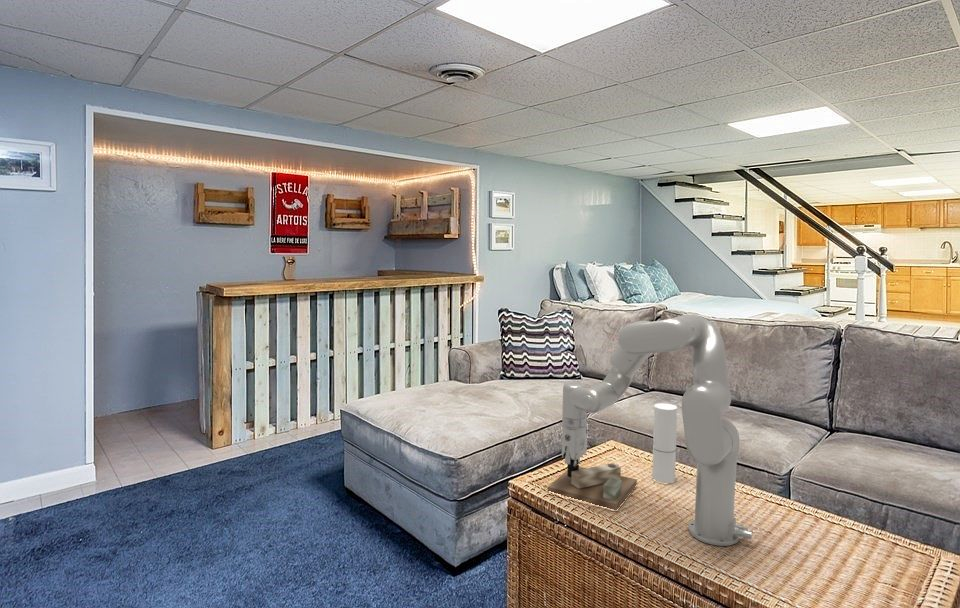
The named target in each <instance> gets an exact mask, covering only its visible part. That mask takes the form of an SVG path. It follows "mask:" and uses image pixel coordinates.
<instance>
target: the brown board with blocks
mask: <svg viewBox="0 0 960 608" xmlns="http://www.w3.org/2000/svg"><path fill="white" fill-rule="evenodd" d="M586 468H587V467H582V466H579V470H581V469H586ZM567 473H568V469H566V471H565V472H563V473H562V474H561V475H560V476H558V477H557V478H556V479H555V480H553V482H551V483H550V484H549V485H548V486H547V492H548V491H551V492H554V493H558V494H561V495H564V496H567V497H571V498H574V499H578V500H582V501H586V502H589V503H592V504H595V505H599V506H603V507H607V508H610V509H614V510H617V509H618V508H619V507H620V505H621V504H622V503H623V502H624V501H625V499H626V498H627V497H628V495H629V494H630V493H631V492H632V490H633V489H634V488H635V486H636V485H637V484H638V483H637V482H638V480H637V479H635V478H633V477H627V476H623V475H621V479H620V480H619V479H614V478H610V479H609V480H608V481H607V482H606V483H602V484H598V485H593V486H589V487H584V488H579V489H578V488H577V487H576V486H574V485H573V484H571V477H568V476H567ZM637 486H638V485H637ZM635 489H636V488H635ZM632 493H633V492H632ZM632 493H631V494H632ZM628 498H629V497H628ZM628 498H627V499H628ZM625 502H626V501H625ZM625 502H624V503H625ZM620 508H621V507H620Z"/></svg>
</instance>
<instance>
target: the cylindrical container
mask: <svg viewBox="0 0 960 608" xmlns="http://www.w3.org/2000/svg"><path fill="white" fill-rule="evenodd" d="M677 427H678V406H677V405H675V404H671V403H664V402H663V403H662V402H661V403H660V402H659V403H655V404H654V406H653V433H652V434H653V435H652V436H653V440H652V441H653V442H652V468H651V469H652V473H651V477H653V479H655V480H656V481H659V482H662V483H672V482H674V481H676V456H677V455H676V454H677ZM653 479H652V480H653ZM674 483H675V482H674Z"/></svg>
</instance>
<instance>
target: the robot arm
mask: <svg viewBox="0 0 960 608" xmlns="http://www.w3.org/2000/svg"><path fill="white" fill-rule="evenodd" d="M617 338H618V339H617V340H618V341H617V342H618V346H617V347H616V348H615V350H614V351H613V352H612V353H611V355H610V356H609V362H610V365H611V368H610V370H609V372H608V373H607V375H606V376H605V377H604V379H603V380H602V381H601V382H600V383H598V384H595V385H593V386H591V387H590V386H589V387H588V386H587V385H586V384H585V383H583V382H580V381H569V382H566V383H564V384H563V386H562V412H561V413H562V415H561V417H562V418H561V419H562V420H561V421H562V422H561V425H562V427H563V431H562V439H561V440H562V441H561V457H562V458H563V459H564V464H565V465H567V470H568V473H567V476H568V477H571V475H572V471H576V470H579V467H580V458H582V457H583V456H584V455H585V454H587V452H588V438H587V437H588V434H587V414H588V413H590V414H596V413H599V412H601V411H604V410H605V409H607V408H609V407H611V406H613V405H615V404H616V403H617V402H618V401H619V399H620V398H621V397H622V396H623V395H624V393H626V391H627V389H628V388H629V387H630V385H631V383H632V381H633V379H634V377H635V374H636V373H637V371H638V370H639V369H640V368H641V366H642V365H643V364H644V363H645V362H646V360H647V359H648V357H649V356H650V355H651V354H657V353H671V352H678V351H682V350H684V349H687V348H689V347H690V348H691V351H692V352H691V370H692V381H693V384H692V385H691V386H690V387H688V388H687V389H686V390H685V392H684V393H683V396H682V398H681V414H682V415H681V416H682V424H683V432H684V440H685V447H686V449H687V453H688V454H689V456H690V457H691V459H692V460H693V461H694V462H696V463H697V464H696V475H695V476H696V478H695V481H696V482H695V502H694V504H695V505H694V506H695V507H694V509H695V511H694V519H693V520H691V521H690V522H689V523H688V527H687V528H688V532H689V534H690V535H691V536H692V537H694V538H695V539H696V540H698V541H700V542H702V543H705V544H709V545H713V546H718V547H720V546H721V547H727V546H733V545H734V544H737V543H738V542H739V541H740V537H742V538H745V539H749V540H752V535H753V532H752V531H751V530H749V527H748V526H744V525H739V523H737V518H736V517H735V516H734V515H735V492H736V477H737V463H738V456H739V449H740V434H739V431H738V429H737V427H736V426H735V425H734V424H733V422H732V421H730V420H728V419H726V418H723V417H722V414H723V413H725V412H726V411H727V410H728V409H729V407H730V405H731V403H732V396H731V395H732V394H731V388H730V381H729V380H730V379H729V373H728V372H729V371H728V366H727V357H726V351H725V350H726V349H725V344H724V343H725V342H724V339H723V336H722V334H721V332H720V330H719V329H718V328H717V326H716V325H715V324H714V323H713V322H712V321H710V320H708V319H707V318H705V317H703V316H700V315H696V314H682V315H679V316H675V317H672V318H666V319H660V320H655V321H649V320H639V321H635V322H631V323H628V324H625V326H623V327H622V328H621V330H620V331H619V333H618V337H617Z"/></svg>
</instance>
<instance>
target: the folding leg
mask: <svg viewBox="0 0 960 608" xmlns="http://www.w3.org/2000/svg"><path fill="white" fill-rule="evenodd" d="M585 468H586V469H581V470H576V471H572V475H571V484H573V485H574V486H576V487H577V488H578V489H579V488H584V487H589V486H593V485H598V484H602V483H606V482H607V481H608V480H609V479H610V478H614V479H619V480H620V479H621V476H622V474H621V472H622V469H621V468H622V467H621V466H619V465H617V464H616V463H613V462H611V463H607V464H602V465H601V464H600V465H597V466H592V467H585Z"/></svg>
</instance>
